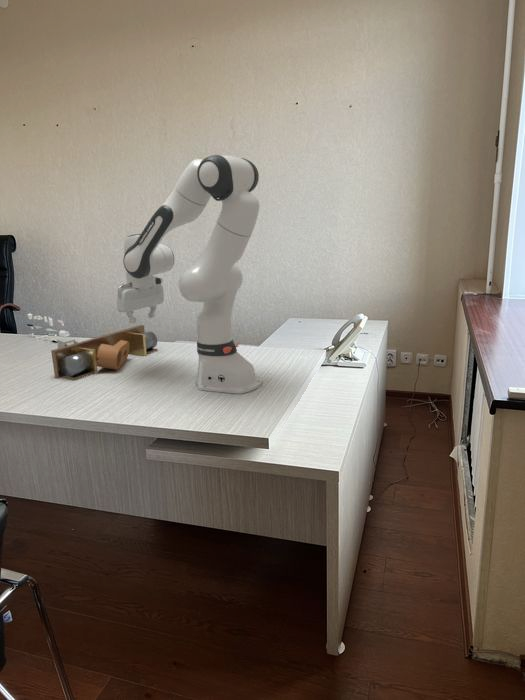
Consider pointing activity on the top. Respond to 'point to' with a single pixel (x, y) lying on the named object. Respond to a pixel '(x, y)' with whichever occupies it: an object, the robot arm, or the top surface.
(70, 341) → the electrical component
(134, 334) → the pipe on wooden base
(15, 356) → the top surface
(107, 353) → the tan piece
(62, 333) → the plumbing parts
